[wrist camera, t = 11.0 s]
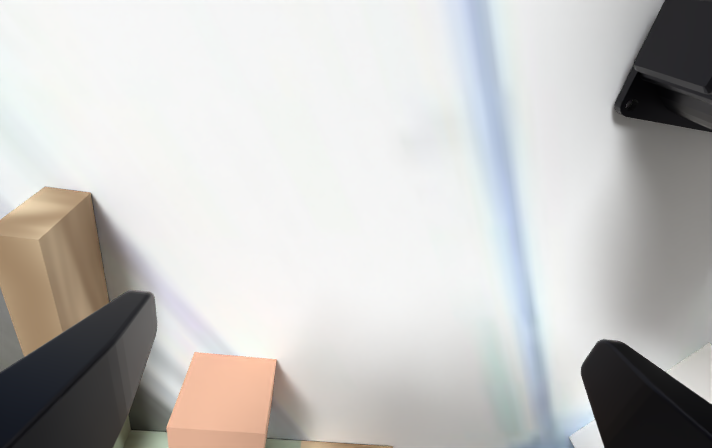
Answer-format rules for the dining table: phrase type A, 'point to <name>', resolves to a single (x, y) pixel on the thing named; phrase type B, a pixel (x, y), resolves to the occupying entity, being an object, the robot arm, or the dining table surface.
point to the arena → (68, 284)
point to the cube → (223, 403)
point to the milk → (697, 372)
